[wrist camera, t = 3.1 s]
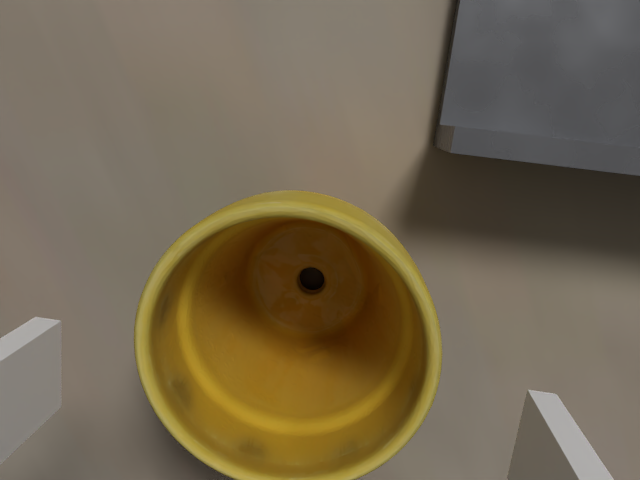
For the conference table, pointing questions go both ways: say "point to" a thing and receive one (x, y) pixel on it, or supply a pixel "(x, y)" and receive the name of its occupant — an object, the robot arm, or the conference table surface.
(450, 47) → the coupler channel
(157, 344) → the plant pot
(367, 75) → the conference table surface
